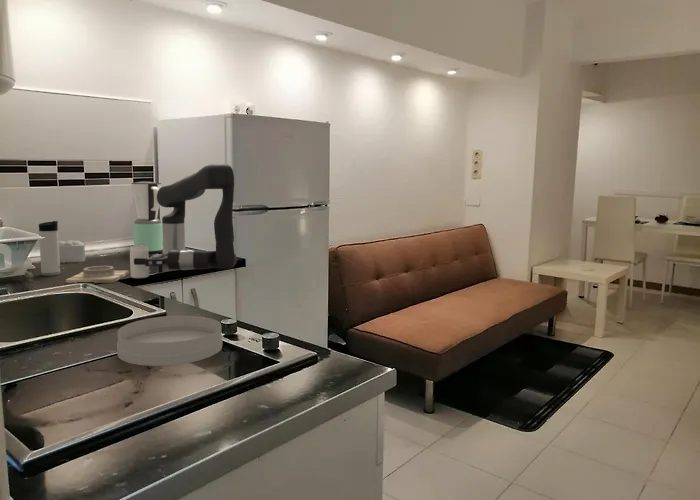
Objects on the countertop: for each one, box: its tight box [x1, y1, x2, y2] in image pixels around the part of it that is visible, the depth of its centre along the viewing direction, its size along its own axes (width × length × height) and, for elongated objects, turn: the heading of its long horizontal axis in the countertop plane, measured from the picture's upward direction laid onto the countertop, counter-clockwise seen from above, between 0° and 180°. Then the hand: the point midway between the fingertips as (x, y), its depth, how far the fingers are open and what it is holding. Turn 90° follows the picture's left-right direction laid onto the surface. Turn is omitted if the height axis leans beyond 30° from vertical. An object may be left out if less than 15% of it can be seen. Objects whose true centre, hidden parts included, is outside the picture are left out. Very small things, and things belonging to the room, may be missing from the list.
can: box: [129, 244, 150, 279], centre depth 201 cm, size 6×6×12 cm
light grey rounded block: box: [59, 239, 86, 264], centre depth 236 cm, size 10×13×9 cm
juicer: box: [130, 180, 163, 255], centre depth 258 cm, size 19×13×35 cm
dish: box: [116, 315, 223, 367], centre depth 119 cm, size 22×22×5 cm
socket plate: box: [65, 265, 130, 284], centre depth 198 cm, size 18×16×4 cm
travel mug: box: [38, 220, 61, 277], centre depth 203 cm, size 6×7×20 cm
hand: (137, 259), depth 201 cm, fingers open, 8 cm apart
